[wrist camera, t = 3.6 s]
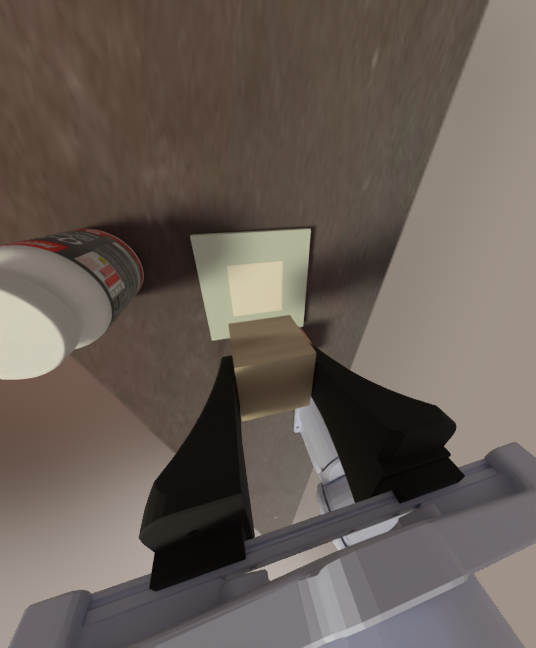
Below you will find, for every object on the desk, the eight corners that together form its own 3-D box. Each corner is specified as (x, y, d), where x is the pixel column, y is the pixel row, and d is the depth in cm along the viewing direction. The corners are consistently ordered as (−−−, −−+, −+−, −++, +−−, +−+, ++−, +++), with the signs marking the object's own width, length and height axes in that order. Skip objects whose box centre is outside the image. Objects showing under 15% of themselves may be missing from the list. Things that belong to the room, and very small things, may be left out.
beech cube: (288, 361, 15) (309, 405, 12) (235, 371, 15) (242, 421, 11) (289, 314, 13) (316, 352, 10) (228, 323, 12) (234, 368, 9)
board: (300, 323, 23) (303, 326, 23) (212, 336, 21) (212, 340, 21) (307, 227, 18) (311, 229, 17) (190, 234, 16) (189, 236, 16)
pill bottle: (104, 212, 14) (-43, 227, 6) (161, 280, 17) (114, 350, 9) (37, 251, 15) (-191, 317, 6) (105, 311, 18) (11, 407, 9)
